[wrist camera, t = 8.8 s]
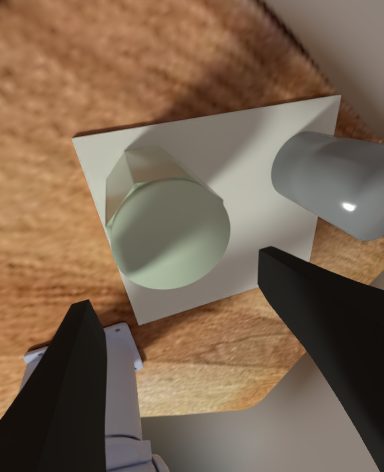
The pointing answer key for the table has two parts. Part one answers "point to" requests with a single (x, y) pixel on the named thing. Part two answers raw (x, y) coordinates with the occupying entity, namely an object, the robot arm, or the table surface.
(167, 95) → the table surface
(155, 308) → the grey mat
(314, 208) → the grey pillar candle
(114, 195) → the sage cup
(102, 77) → the table surface
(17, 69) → the table surface
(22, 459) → the robot arm
